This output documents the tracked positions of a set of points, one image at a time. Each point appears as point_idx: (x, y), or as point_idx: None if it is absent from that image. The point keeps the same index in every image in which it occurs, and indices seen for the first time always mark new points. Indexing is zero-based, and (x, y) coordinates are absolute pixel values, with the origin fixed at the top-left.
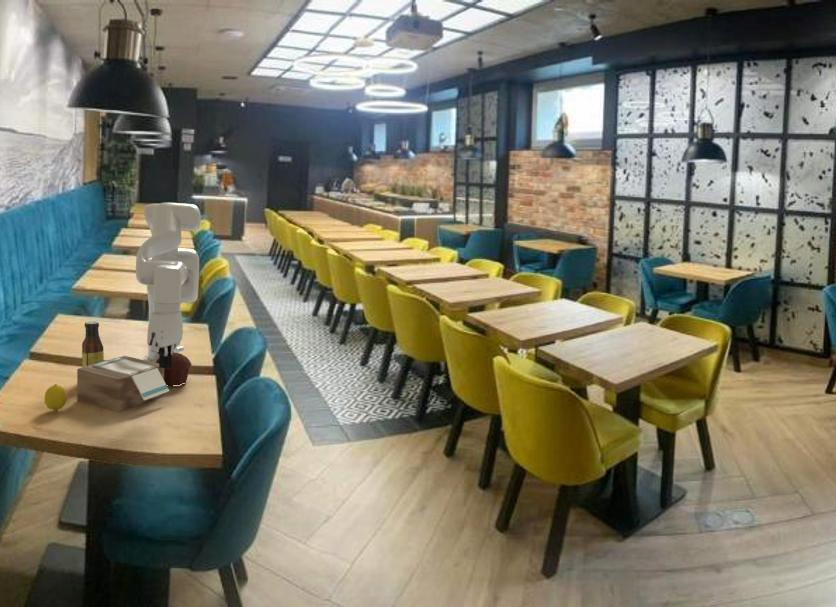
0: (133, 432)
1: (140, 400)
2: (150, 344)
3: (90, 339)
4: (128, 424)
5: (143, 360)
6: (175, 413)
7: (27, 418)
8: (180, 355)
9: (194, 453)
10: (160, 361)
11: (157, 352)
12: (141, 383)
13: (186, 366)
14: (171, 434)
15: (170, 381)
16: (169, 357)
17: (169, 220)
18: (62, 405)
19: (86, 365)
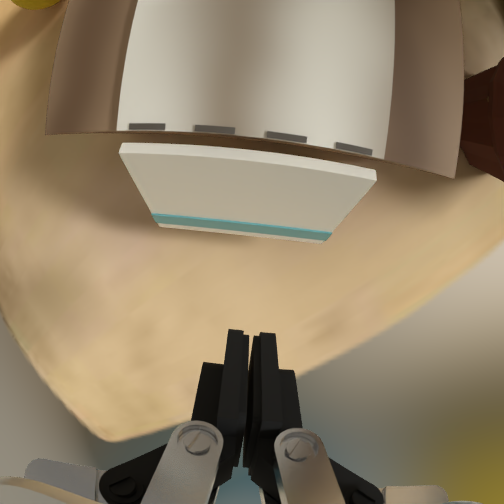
0: (51, 286)
1: (239, 138)
2: (40, 493)
3: None
4: (72, 239)
5: (456, 20)
6: (223, 307)
7: (13, 3)
8: None
9: (82, 422)
10: (198, 389)
11: (141, 456)
12: (171, 191)
13: None
14: (102, 367)
15: (466, 138)
16: (243, 456)
17: None
18: (45, 7)
19: None
